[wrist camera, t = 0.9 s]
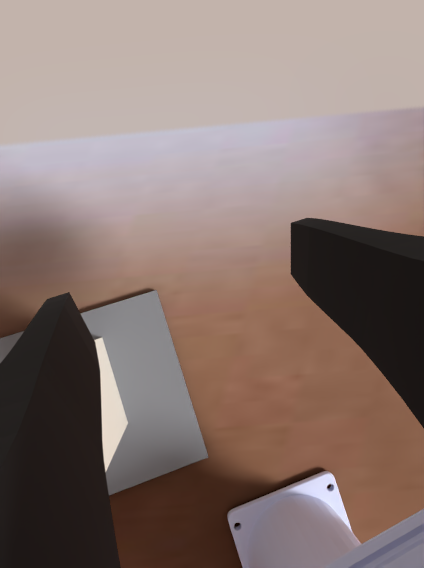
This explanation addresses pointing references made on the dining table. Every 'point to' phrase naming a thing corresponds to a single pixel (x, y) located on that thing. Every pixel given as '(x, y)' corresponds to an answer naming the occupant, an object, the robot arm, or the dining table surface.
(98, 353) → the tile
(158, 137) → the dining table surface
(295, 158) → the dining table surface
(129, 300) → the mat
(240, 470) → the dining table surface
